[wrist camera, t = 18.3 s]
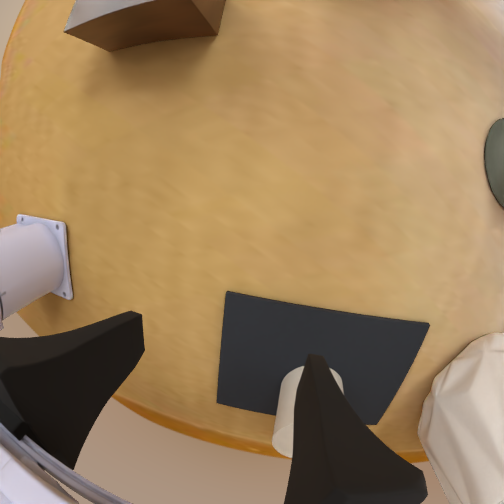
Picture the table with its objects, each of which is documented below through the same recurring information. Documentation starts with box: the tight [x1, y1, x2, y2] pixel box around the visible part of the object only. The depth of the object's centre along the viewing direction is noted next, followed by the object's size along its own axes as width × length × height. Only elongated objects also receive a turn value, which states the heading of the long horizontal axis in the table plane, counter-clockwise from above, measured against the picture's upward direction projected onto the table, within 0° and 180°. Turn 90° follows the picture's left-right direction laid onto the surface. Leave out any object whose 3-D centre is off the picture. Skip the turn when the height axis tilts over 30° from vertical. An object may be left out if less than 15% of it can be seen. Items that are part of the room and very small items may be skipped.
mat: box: [217, 291, 430, 425], centre depth 21 cm, size 16×12×1 cm
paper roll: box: [272, 366, 344, 458], centre depth 18 cm, size 5×5×6 cm
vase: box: [418, 332, 504, 504], centre depth 11 cm, size 14×14×15 cm
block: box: [64, 0, 226, 52], centre depth 12 cm, size 10×4×6 cm, turn 83°
